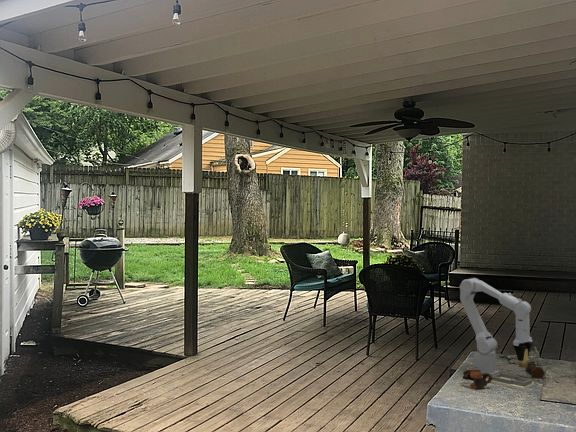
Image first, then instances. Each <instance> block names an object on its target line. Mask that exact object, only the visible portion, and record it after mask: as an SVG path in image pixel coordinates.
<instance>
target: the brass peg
mask: <svg viewBox="0 0 576 432" xmlns="http://www.w3.org/2000/svg"><path fill="white" fill-rule="evenodd" d="M517 360H518V359H517ZM528 363H529V362H528V349H527V348H526V349H525V353H524V360H523V361H519V360H518V363H517V366H518V367H519V368H525V369H526V368H527V367H528Z"/></svg>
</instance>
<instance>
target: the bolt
mask: <svg viewBox="0 0 576 432" xmlns="http://www.w3.org/2000/svg"><path fill="white" fill-rule="evenodd" d="M525 370H526V372H527V373H529V374H531V375H532V377H533V379H543V377H544V376H545V373H546V372H545V370H544V369H543V367H542V366H536V364H535V363H529V362H528V367H527V368H525Z"/></svg>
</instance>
